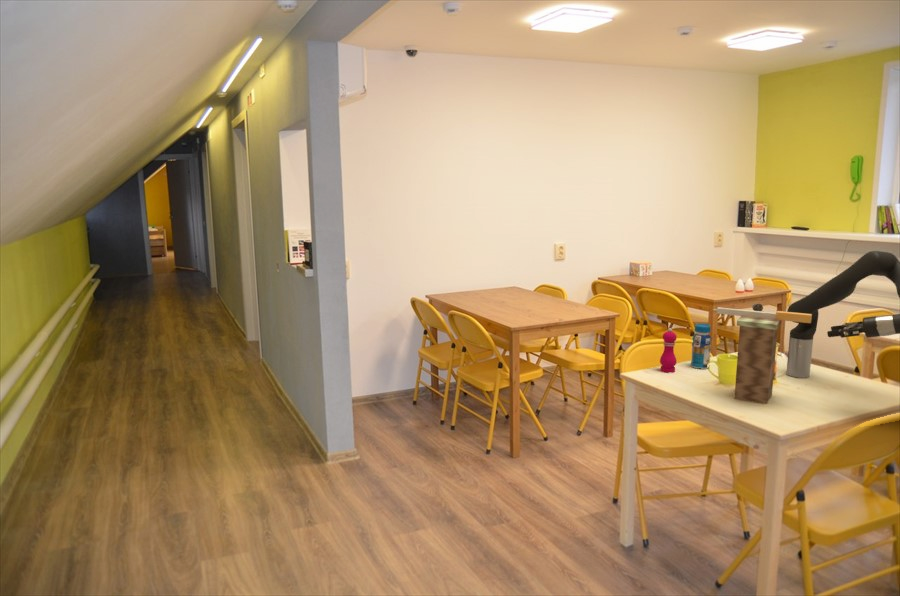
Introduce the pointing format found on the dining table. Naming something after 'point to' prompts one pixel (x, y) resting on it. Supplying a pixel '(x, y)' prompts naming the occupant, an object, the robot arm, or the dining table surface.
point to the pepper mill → (668, 352)
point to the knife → (767, 314)
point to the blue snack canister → (701, 346)
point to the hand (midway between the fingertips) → (829, 331)
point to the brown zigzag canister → (756, 358)
